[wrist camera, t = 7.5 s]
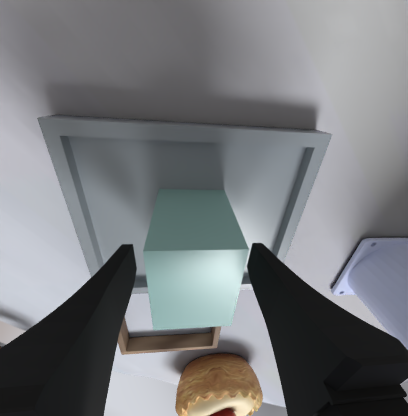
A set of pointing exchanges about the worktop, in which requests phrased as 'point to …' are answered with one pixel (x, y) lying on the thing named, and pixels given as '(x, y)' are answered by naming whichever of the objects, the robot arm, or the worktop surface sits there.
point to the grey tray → (179, 178)
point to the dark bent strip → (166, 341)
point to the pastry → (218, 387)
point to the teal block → (193, 259)
